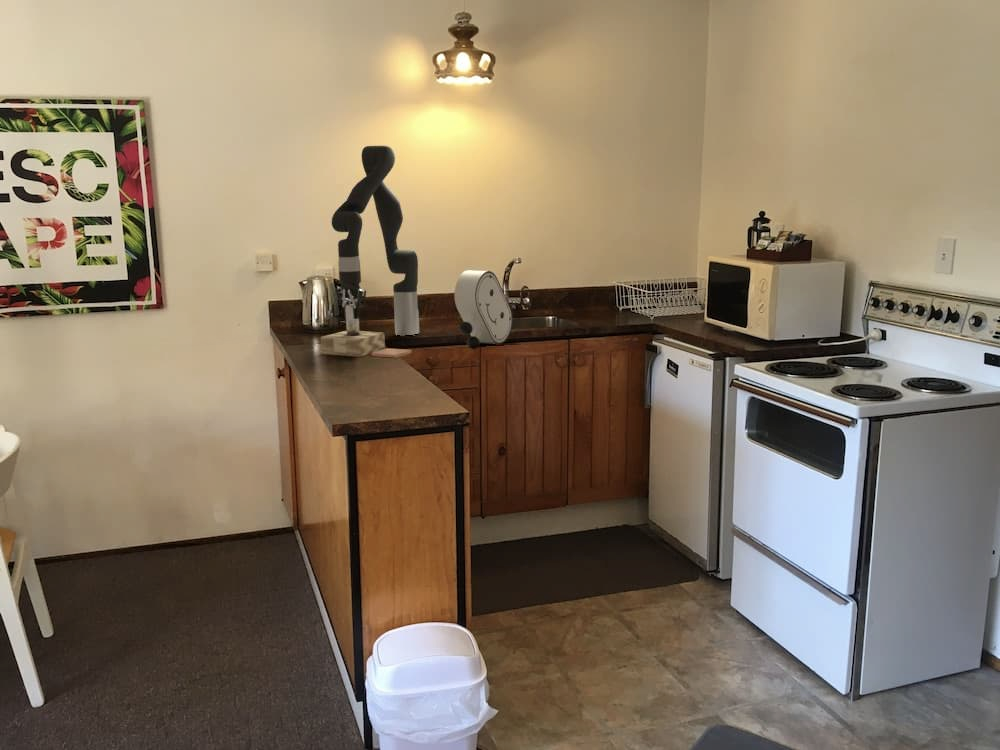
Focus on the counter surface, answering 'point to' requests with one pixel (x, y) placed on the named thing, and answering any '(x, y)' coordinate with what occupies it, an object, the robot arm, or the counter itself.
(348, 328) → the light grey cylinder
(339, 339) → the bore block
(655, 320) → the counter surface
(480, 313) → the robot
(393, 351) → the coaster
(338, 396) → the counter surface
